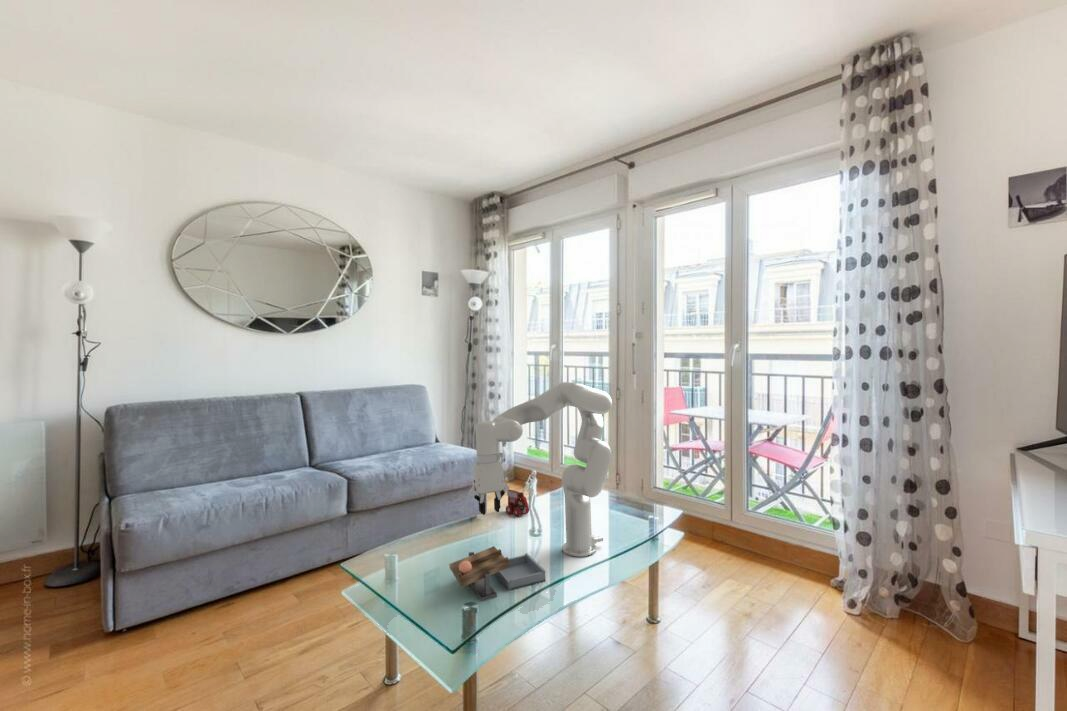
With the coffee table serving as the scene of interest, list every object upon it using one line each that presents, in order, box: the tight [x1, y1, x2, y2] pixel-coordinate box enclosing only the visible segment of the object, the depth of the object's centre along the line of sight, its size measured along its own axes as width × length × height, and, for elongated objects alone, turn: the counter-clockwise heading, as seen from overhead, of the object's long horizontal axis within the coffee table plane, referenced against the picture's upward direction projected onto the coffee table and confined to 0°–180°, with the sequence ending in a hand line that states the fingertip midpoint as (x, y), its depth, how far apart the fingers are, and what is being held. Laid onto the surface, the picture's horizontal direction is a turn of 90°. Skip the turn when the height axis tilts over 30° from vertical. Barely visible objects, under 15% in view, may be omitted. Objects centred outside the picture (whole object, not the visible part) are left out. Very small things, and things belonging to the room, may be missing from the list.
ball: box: [459, 561, 472, 575], centre depth 147 cm, size 4×4×4 cm
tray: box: [494, 552, 547, 591], centre depth 157 cm, size 13×15×4 cm
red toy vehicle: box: [505, 489, 530, 518], centre depth 218 cm, size 7×12×10 cm, turn 47°
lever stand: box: [468, 551, 498, 602], centre depth 152 cm, size 5×19×8 cm, turn 24°
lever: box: [448, 546, 510, 588], centre depth 152 cm, size 16×15×4 cm
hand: (489, 511), depth 159 cm, fingers open, 4 cm apart
